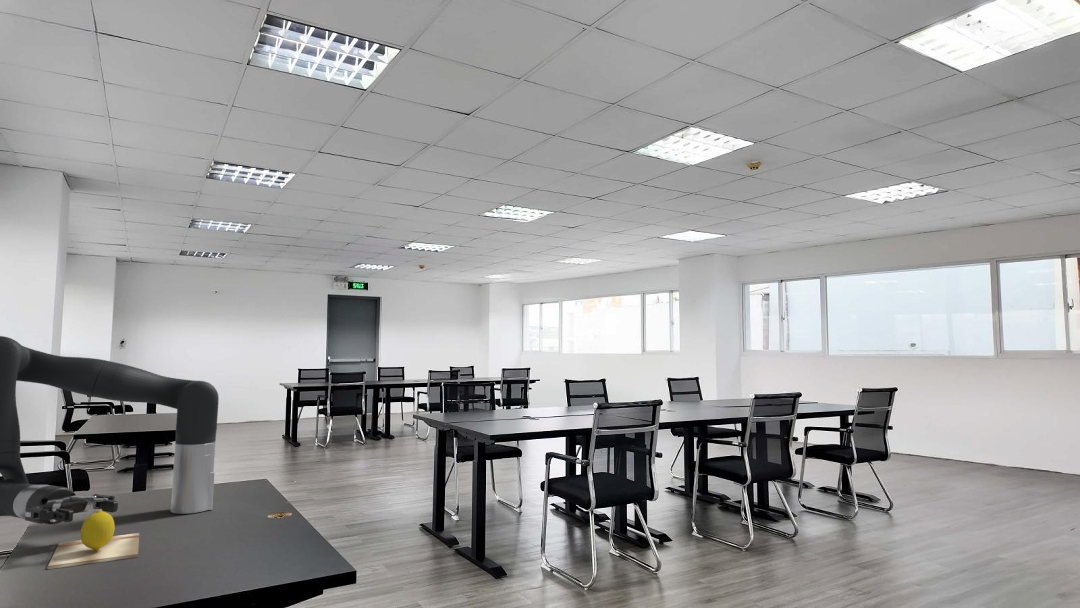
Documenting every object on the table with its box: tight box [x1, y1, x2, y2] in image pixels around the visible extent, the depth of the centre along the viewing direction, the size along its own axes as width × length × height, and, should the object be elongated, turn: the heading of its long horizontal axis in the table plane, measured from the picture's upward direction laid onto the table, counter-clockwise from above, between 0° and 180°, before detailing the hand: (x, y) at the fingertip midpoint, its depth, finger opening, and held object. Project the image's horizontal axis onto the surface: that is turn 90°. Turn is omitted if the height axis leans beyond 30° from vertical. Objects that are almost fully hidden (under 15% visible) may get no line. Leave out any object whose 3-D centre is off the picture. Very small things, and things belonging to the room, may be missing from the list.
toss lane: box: [46, 532, 140, 570], centre depth 123 cm, size 14×18×1 cm
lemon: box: [80, 510, 116, 551], centre depth 122 cm, size 6×6×8 cm
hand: (94, 511), depth 123 cm, fingers open, 8 cm apart
